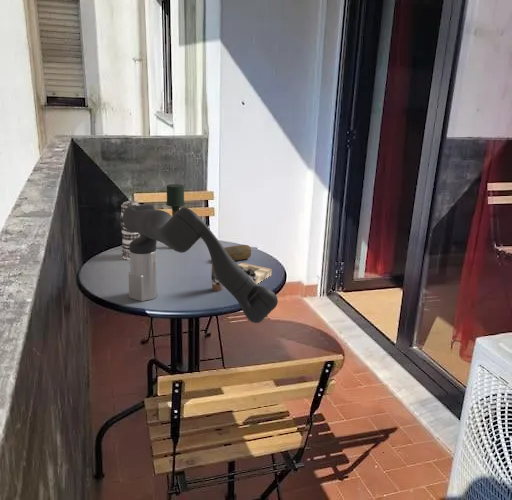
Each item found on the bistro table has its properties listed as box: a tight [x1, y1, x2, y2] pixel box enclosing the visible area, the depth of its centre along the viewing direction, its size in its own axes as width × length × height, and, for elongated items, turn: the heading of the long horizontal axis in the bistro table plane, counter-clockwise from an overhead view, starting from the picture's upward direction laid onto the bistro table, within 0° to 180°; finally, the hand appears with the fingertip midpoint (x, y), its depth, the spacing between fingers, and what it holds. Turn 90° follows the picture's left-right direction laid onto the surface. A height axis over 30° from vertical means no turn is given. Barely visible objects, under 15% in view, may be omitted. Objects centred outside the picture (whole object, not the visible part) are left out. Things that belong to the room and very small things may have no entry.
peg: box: [211, 263, 223, 292], centre depth 183 cm, size 4×4×14 cm
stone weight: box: [224, 244, 252, 262], centre depth 218 cm, size 15×7×7 cm, turn 120°
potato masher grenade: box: [165, 183, 186, 217], centre depth 228 cm, size 8×9×30 cm
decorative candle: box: [119, 200, 141, 261], centre depth 214 cm, size 9×9×25 cm
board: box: [237, 262, 272, 285], centre depth 197 cm, size 17×14×3 cm
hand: (227, 269), depth 171 cm, fingers open, 8 cm apart
